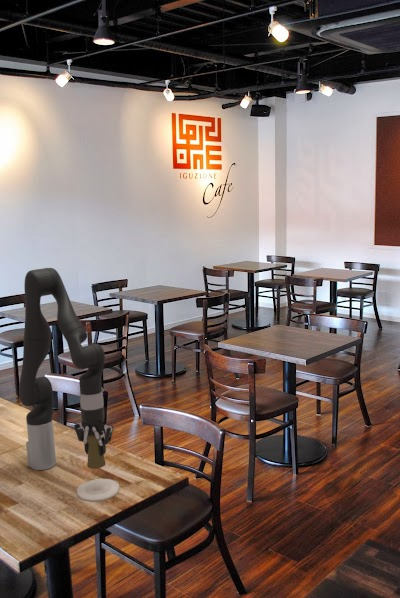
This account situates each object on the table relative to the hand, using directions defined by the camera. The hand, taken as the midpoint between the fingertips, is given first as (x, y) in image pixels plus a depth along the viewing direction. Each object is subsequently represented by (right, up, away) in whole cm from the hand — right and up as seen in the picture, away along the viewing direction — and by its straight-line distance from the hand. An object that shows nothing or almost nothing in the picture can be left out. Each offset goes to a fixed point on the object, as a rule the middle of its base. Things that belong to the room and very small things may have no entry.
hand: (95, 453), depth 204 cm
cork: (0, -4, +1) cm, 4 cm away
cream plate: (0, -13, +2) cm, 13 cm away
